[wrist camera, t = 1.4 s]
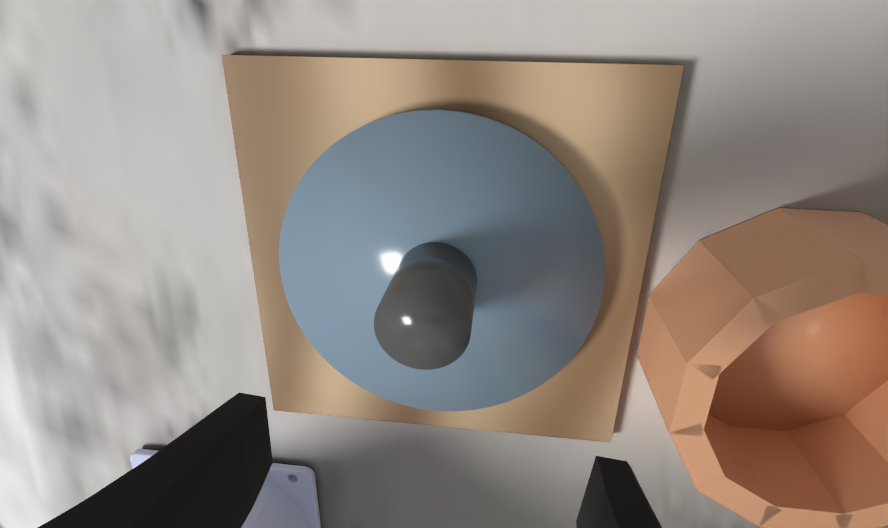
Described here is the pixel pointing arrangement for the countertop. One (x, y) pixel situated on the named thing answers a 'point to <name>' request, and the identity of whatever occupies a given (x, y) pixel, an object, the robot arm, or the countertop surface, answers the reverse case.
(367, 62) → the oak board
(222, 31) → the countertop surface
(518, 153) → the lid
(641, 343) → the terracotta pot
